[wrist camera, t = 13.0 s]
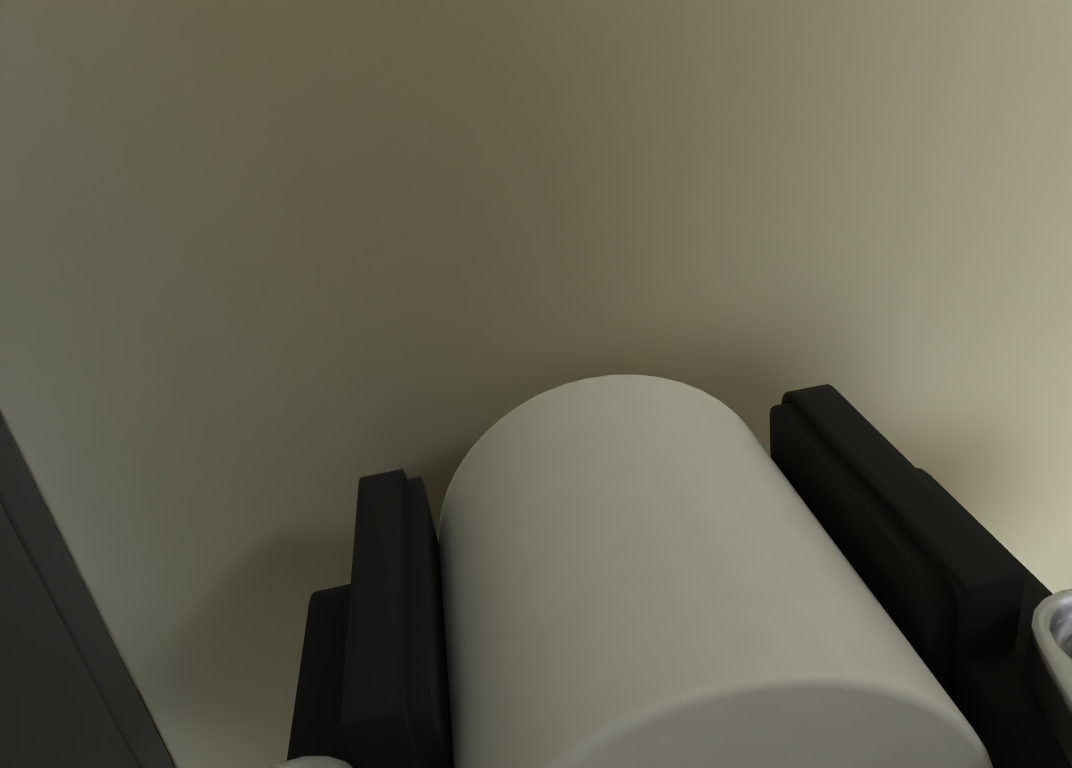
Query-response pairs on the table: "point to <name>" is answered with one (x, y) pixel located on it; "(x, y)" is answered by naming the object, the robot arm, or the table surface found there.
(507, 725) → the cylinder
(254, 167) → the table surface
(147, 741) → the coffee maker
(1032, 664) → the robot arm
